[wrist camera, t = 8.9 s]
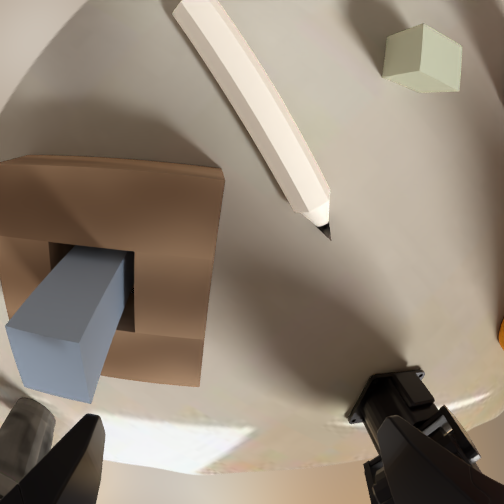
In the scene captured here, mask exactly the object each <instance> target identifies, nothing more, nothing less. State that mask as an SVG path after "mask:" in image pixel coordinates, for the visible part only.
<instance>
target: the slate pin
mask: <svg viewBox="0 0 504 504" xmlns="http://www.w3.org/2000/svg"><path fill="white" fill-rule="evenodd" d="M134 257H135V252H134V251H125V250H116V249H107V248H98V247H89V246H81V245H75V246H74V247H73V248H72V249H71V250H70V251H69V252H68V253H67V255H66V256H65V257H64V258H63V259H62V260H61V261H60V262H59V263H58V264H57V265H56V266H55V267H54V269H53V270H52V271H51V272H50V273H49V274H48V275H47V276H46V277H45V278H44V280H43V281H42V282H41V283H40V284H39V285H38V286H37V288H36V289H35V290H34V291H33V292H32V293H31V295H30V296H29V297H28V298H27V299H26V301H25V302H24V303H23V304H22V305H21V307H20V308H19V309H18V310H17V312H16V313H15V314H14V315H13V317H12V318H11V319H10V320H9V322H8V323H7V324H6V325H5V327H6V331H7V335H8V338H9V342H10V345H11V349H12V352H13V355H14V358H15V362H16V365H17V368H18V370H19V373H20V376H21V379H22V382H23V384H24V387H27V388H30V389H33V390H37V391H40V392H44V393H47V394H51V395H55V396H59V397H63V398H67V399H71V400H76V401H80V402H85V403H89V404H91V403H92V399H93V396H94V393H95V390H96V386H97V383H98V380H99V377H100V374H101V371H102V368H103V365H104V362H105V359H106V356H107V353H108V350H109V348H110V345H111V342H112V339H113V336H114V334H115V331H116V328H117V326H118V323H119V320H120V318H121V315H122V312H123V310H124V307H125V305H126V302H127V300H128V297H129V295H130V292H131V290H132V287H133V285H134Z"/></svg>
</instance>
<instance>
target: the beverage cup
mask: <svg viewBox="0 0 504 504" xmlns="http://www.w3.org/2000/svg"><path fill="white" fill-rule="evenodd" d="M55 422H56V421H55V418H54V416H53V415H52V413H51V412H50V411H49V410H48V409H47V408H46V407H44V406H43V405H41V404H40V403H38V402H36V401H34V400H31V399H28V398H21V399H19V400H18V401H17V403H16V405H15V406H14V408H13V409H12V410H11V411H10V413H9V415H8V416H7V418H6V420H5V421H4V423H3V425H2V427H1V428H0V500H1V499H2V498H3V497H4V496H5V495H6V494H7V493H8V492H9V491H10V490H11V489H12V488H13V487H14V486H15V485H16V484H19V481H20V480H21V479H22V478H23V477H24V476H25V475H26V474H27V473H28V472H29V471H30V470H31V469H32V468H33V467H34V466H35V465H36V464H37V463H38V462H39V461H40V460H41V459H42V458H43V457H44V456H45V455H46V454H47V453H48V452H49V451H50V450H51V445H52V440H53V432H54V426H55Z"/></svg>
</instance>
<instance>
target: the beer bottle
mask: <svg viewBox="0 0 504 504" xmlns="http://www.w3.org/2000/svg"><path fill="white" fill-rule="evenodd" d="M499 343H500V345H501V347H502V348H503V350H504V319H503V321H502V324H501V327H500V331H499Z"/></svg>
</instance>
